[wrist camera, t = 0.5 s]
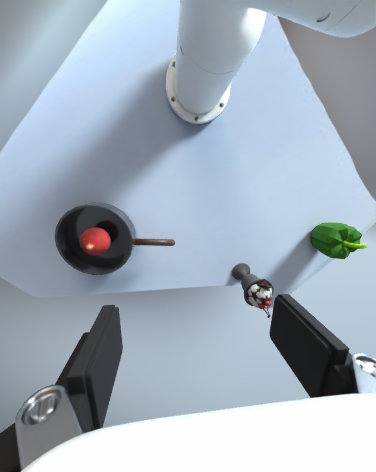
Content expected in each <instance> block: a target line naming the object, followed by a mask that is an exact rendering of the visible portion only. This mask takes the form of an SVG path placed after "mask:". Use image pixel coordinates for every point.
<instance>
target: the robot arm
mask: <svg viewBox="0 0 376 472" xmlns="http://www.w3.org/2000/svg"><path fill="white" fill-rule="evenodd" d="M266 13H269V14H272V15H274V16H275V15H278V16H280V17H283V18H285V19H288V20H291V21H293V22H296V23H298V24H301V25H304V26H306V27H309V28H311V29H314V30H316V31H320V32H323V33H326V34H328V35H332V36H336V37H353V36H357V35H360V34H362V33H365V32H367V31H369V30H371V29H372V28H374V27H375V26H376V0H180V8H179V22H178V35H177V49H176V55H175V56H174V58H173V59H172V61H171V63H170V65H169V67H168V70H167V74H166V93H167V97H168V100H169V103H170V105H171V107H172V109H173V110H174V111H175V113H176V114H177V115H178V116H179V117H180V118H182V119H183V120H185V121H187V122H189V123H193V124H204V123H207V122H210V121H212V120H214V119H215V118H216V117H217V116H218V115H219V114H220V113H221V112H222V110H223V109H224V108H225V106H226V104H227V101H228V98H229V95H230V87H231V85H230V84H231V82H232V81H233V79H234V78H235V76H236V75H237V73H238V72H239V70H240V69H241V67H242V66H243V64H244V63H245V61H246V60H247V58H248V57H249V55H250V54H251V52H252V50H253V49H254V47H255V45H256V44H257V42H258V39H259V37H260V35H261V32H262V29H263V25H264V21H265V17H266ZM173 66H175V67H173ZM172 100H174V102H172ZM219 106H221V107H219ZM195 118H197V121H196V120H195ZM270 337H271V340H272V341H273V343H274V344H275V346H276V347H277V349H278V350H279V352H280V353H281V355H282V356H283V358H284V359H285V361H286V362H287V364H288V365H289V366H290V368H291V369H292V371H293V372H294V374H295V375H296V377H297V378H298V380H299V381H300V383H301V384H302V386H303V387H304V389H305V390H306V392H307V393H308V394H309V396H310V397H311V398H308V399H301V400H292V401H284V402H276V403H269V404H261V405H253V406H245V407H238V408H230V409H223V410H215V411H208V412H201V413H194V414H187V415H179V416H171V417H165V418H157V419H151V420H145V421H138V422H132V423H125V424H119V425H115V426H110V427H105V428H102V427H103V423H104V420H105V416H106V412H107V408H108V404H109V401H110V397H111V393H112V389H113V385H114V381H115V377H116V374H117V370H118V366H119V362H120V359H121V355H122V347H123V346H122V337H121V327H120V317H119V309H118V307H115V305H105V306H103V307H102V309H101V311H100V313H99V315H98V317H97V319H96V321H95V322H94V324H93V326H92V328H91V330H90V332H87V333H84V334H83V335H82V337H81V339H80V340H79V342H78V344H77V346H76V348H75V349H74V351H73V353H72V355H71V357H70V358H69V360H68V362H67V364H66V366H65V367H64V369H63V371H62V373H61V375H60V376H59V378H58V380H57V382H56V384H55V385H50V386H47V387H45V388H43V389H40V390H38V391H37V392H36V393H34V394H33V395H32V396H30V397H29V398H28V399H27V400H26V401H25V402H24V404H23V405H22V407H21V408H20V409H19V411H18V413H17V416H16V421H15V423H14V424H12V425H11V426H10V427H8V428H7V429H6V430H4V431H3V432H2V433H0V472H376V358H375V357H373V356H371V355H368V354H364V353H355V354H353V355H351V354H350V353H349V348H348V347H347V346H346V345H345V344H344V343H343V342H342V341H340V340H339V339H338V338H337V337H336V336H335V335H334V334H332V333H331V332H330V331H329V330H328V329H327V328H326V327H325V326H324V325H323V324H321V323H320V322H319V321H318V320H317V319H316V318H315V317H314V316H312V315H311V314H310V313H309V312H308V311H307V310H306V309H305V308H304V307H302V306H301V305H300V304H299V303H298V302H297V301H296V300H295V299H293V298H292V297H291V296H290V295H289V294H281V295H278V296H277V297H276V298H275V301H274V308H273V315H272V321H271V327H270Z"/></svg>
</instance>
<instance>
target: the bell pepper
mask: <svg viewBox="0 0 376 472" xmlns="http://www.w3.org/2000/svg"><path fill="white" fill-rule="evenodd" d="M311 236H312V239H311V241H312V245H313V246H314V247H315V248H316V249H318V250H319V251H320V252H322V253H323V254H325V255H327V256H329V257H331V258H339V259H345V258H346V257H348V255H349V253H350V252H354V251H355V250H357V249H363V248H366V246H367V245H366V244H360V238H361V236H362V234H361V233H360V232H358V231H357V230H356V229H355V228H354V227H351V226H348V225H346V224H342V223H322V224H320V225H318V226H316V227H315V228H314V229H313V230H312V233H311Z"/></svg>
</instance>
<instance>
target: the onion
mask: <svg viewBox="0 0 376 472" xmlns="http://www.w3.org/2000/svg"><path fill="white" fill-rule="evenodd" d="M79 242H80V247H81V248H82V249H83V250H84V251H85V252H86V253H88V254H90V255H100V254H102V253H104V252H106V251H107V250H108V248H109V247H110V244H111V238H110V236H109V234H108V232H106V231H105V230H104V229H102V228H99V227H93V228H90V229H87V230H86V231H85V232H84V233H83V234H82V235H81V237H80V241H79Z"/></svg>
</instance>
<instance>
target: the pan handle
mask: <svg viewBox="0 0 376 472" xmlns="http://www.w3.org/2000/svg"><path fill="white" fill-rule="evenodd" d="M174 244H175V241H174V240H167V239H133V245H154V246H173V245H174Z"/></svg>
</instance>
